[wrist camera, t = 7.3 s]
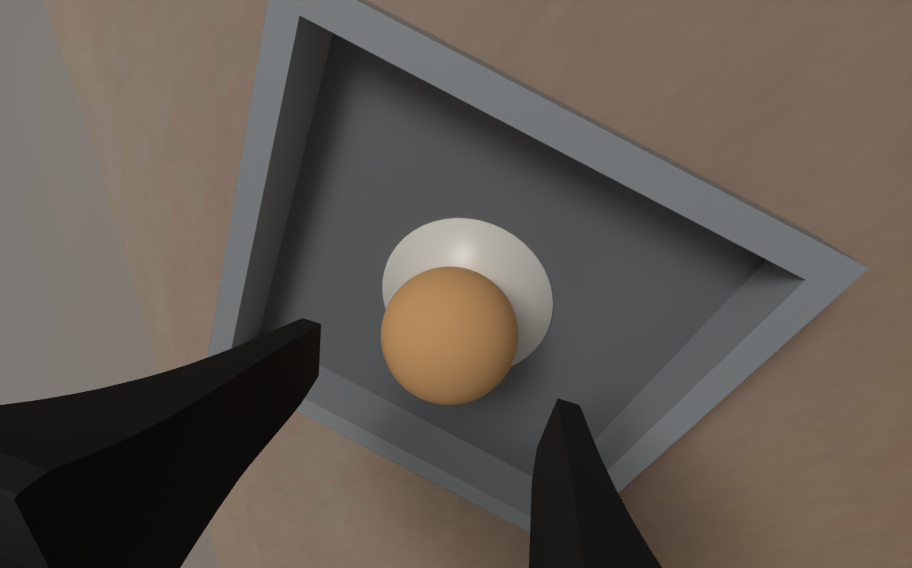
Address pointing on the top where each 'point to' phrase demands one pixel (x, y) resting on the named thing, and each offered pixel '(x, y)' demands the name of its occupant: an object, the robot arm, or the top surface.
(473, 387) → the ball
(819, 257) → the grey serving tray
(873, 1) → the top surface
